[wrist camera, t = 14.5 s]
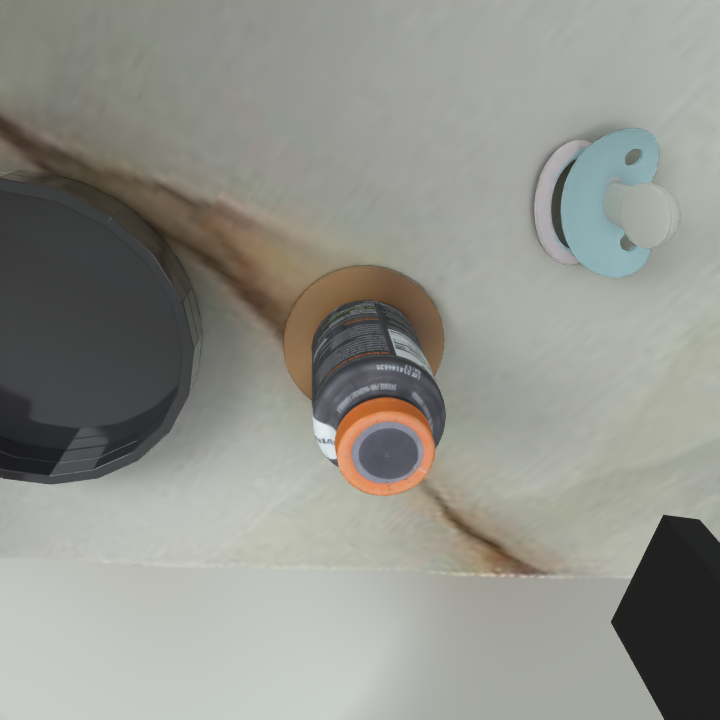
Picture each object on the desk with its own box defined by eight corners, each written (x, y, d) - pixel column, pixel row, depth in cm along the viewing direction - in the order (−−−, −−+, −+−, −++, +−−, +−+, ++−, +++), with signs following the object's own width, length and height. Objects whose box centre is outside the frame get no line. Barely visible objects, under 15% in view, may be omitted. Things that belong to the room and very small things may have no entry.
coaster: (272, 400, 37) (272, 405, 37) (298, 251, 34) (297, 254, 33) (421, 422, 39) (422, 427, 38) (460, 281, 35) (462, 284, 35)
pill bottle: (309, 394, 37) (308, 518, 26) (312, 295, 34) (312, 388, 24) (412, 396, 37) (451, 518, 27) (422, 298, 35) (469, 392, 25)
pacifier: (530, 273, 36) (638, 260, 35) (567, 311, 30) (697, 296, 30) (530, 134, 33) (648, 120, 32) (571, 147, 27) (715, 130, 27)
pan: (-102, 433, 37) (-135, 461, 34) (-127, 140, 30) (-170, 146, 28) (186, 470, 39) (177, 500, 36) (217, 205, 33) (209, 217, 30)
